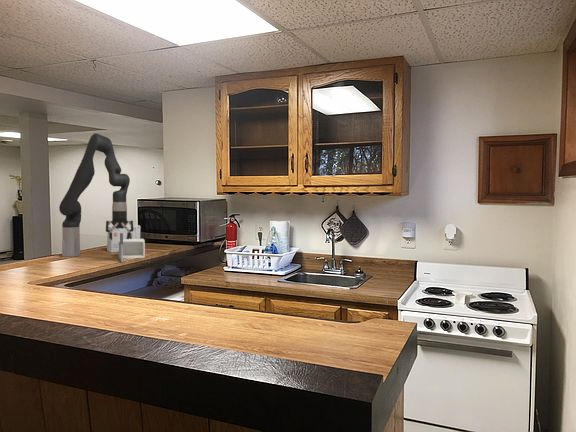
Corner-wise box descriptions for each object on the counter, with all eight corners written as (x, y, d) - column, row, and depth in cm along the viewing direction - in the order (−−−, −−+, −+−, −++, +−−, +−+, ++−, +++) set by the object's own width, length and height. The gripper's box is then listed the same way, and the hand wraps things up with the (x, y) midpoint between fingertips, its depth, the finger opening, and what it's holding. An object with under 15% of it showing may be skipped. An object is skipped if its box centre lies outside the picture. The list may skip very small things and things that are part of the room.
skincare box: (111, 252, 277) (111, 227, 276) (106, 251, 280) (106, 226, 279) (140, 249, 293) (140, 225, 292) (136, 248, 297) (135, 224, 296)
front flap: (118, 258, 255) (118, 231, 254) (120, 258, 255) (120, 231, 254) (121, 262, 243) (120, 233, 242) (123, 262, 243) (123, 233, 242)
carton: (119, 258, 256) (119, 241, 255) (118, 255, 265) (118, 239, 264) (144, 257, 261) (144, 240, 260) (143, 254, 270) (143, 238, 270)
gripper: (132, 209, 249) (133, 238, 250) (105, 209, 243) (105, 238, 244) (133, 210, 242) (133, 239, 243) (105, 210, 236) (105, 240, 237)
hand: (119, 239), depth 244 cm, fingers open, 8 cm apart
